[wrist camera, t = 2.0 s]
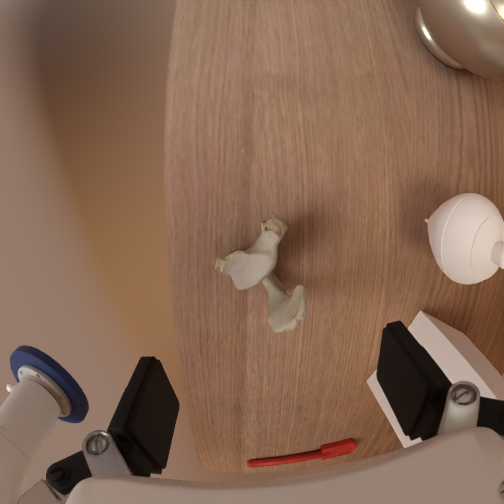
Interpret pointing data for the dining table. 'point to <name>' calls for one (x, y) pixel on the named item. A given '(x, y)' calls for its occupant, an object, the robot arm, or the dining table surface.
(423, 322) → the milk
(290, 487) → the robot arm
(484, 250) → the spinning top
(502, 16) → the teapot
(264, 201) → the dining table surface
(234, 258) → the bone
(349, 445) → the red toy shovel
